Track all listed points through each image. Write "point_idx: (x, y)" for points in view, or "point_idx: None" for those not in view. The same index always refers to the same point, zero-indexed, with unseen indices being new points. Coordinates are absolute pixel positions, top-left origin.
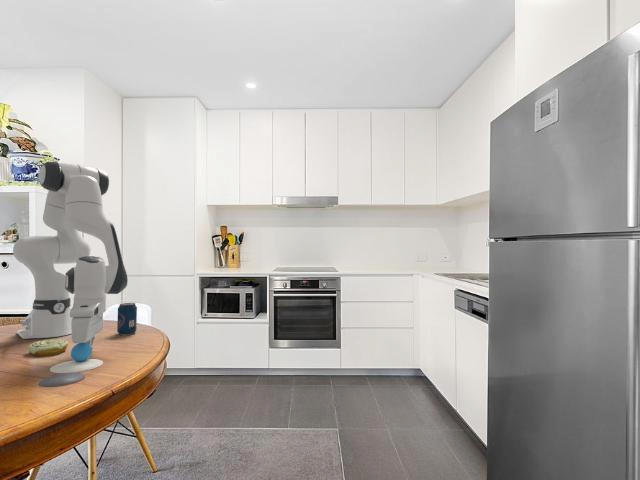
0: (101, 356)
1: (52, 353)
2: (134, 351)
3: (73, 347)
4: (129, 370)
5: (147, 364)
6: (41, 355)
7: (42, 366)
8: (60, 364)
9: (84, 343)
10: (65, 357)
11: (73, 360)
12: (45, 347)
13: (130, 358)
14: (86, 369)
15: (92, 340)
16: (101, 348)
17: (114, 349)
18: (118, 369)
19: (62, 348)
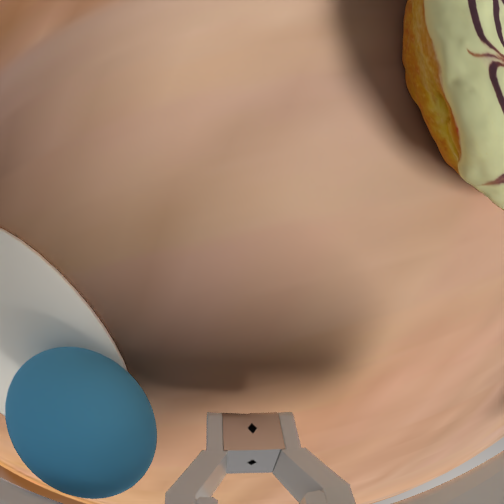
0: (204, 440)
1: (416, 98)
2: (258, 497)
3: (21, 421)
4: (12, 461)
5: (70, 495)
6: (404, 15)
7: (5, 131)
8: (9, 264)
9: (61, 491)
10: (267, 236)
11: (103, 331)
12: (455, 25)
13: (140, 492)
14: None
15: (297, 494)
16: (418, 393)
17: (349, 448)
18: (11, 450)
19: (477, 184)
